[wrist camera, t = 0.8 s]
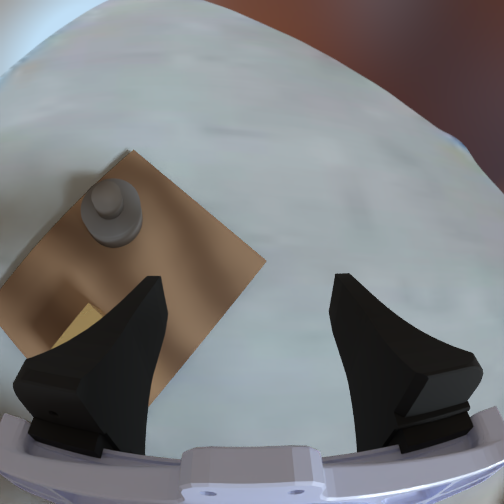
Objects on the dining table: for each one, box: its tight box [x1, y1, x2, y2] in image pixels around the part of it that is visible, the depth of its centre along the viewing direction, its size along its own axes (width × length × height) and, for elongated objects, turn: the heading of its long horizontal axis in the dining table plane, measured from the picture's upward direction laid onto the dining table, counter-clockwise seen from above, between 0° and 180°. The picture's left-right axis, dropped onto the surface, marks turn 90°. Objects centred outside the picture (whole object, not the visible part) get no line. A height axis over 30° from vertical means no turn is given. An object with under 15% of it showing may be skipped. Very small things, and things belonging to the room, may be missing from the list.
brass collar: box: [51, 303, 106, 349], centre depth 20 cm, size 6×6×4 cm
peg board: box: [0, 150, 266, 407], centre depth 22 cm, size 20×16×6 cm
